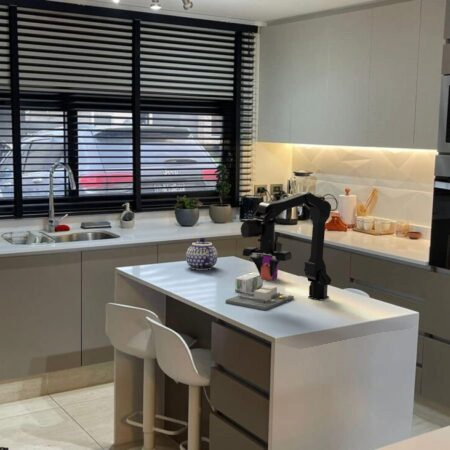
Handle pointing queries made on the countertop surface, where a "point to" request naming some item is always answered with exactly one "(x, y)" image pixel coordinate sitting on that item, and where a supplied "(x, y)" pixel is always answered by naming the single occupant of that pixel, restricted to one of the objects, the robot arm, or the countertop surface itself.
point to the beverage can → (267, 260)
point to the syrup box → (248, 282)
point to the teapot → (201, 255)
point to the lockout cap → (265, 272)
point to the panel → (259, 300)
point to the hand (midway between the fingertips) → (266, 275)
